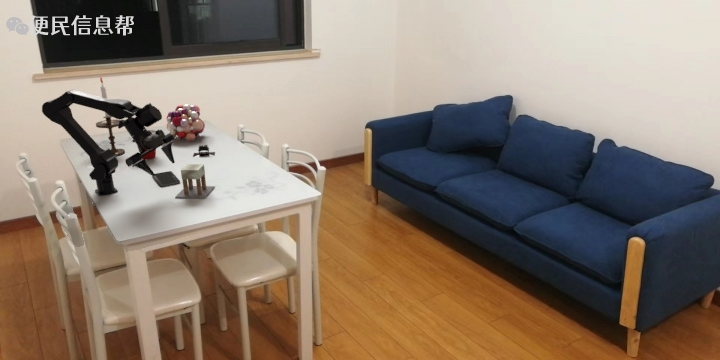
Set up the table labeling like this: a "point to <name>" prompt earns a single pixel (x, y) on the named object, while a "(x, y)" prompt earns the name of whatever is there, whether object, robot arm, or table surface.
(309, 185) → the table surface
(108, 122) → the candlestick
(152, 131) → the plastic cup
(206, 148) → the black brimmed piece
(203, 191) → the mat
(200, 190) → the stool
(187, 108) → the ornament
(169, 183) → the phone
